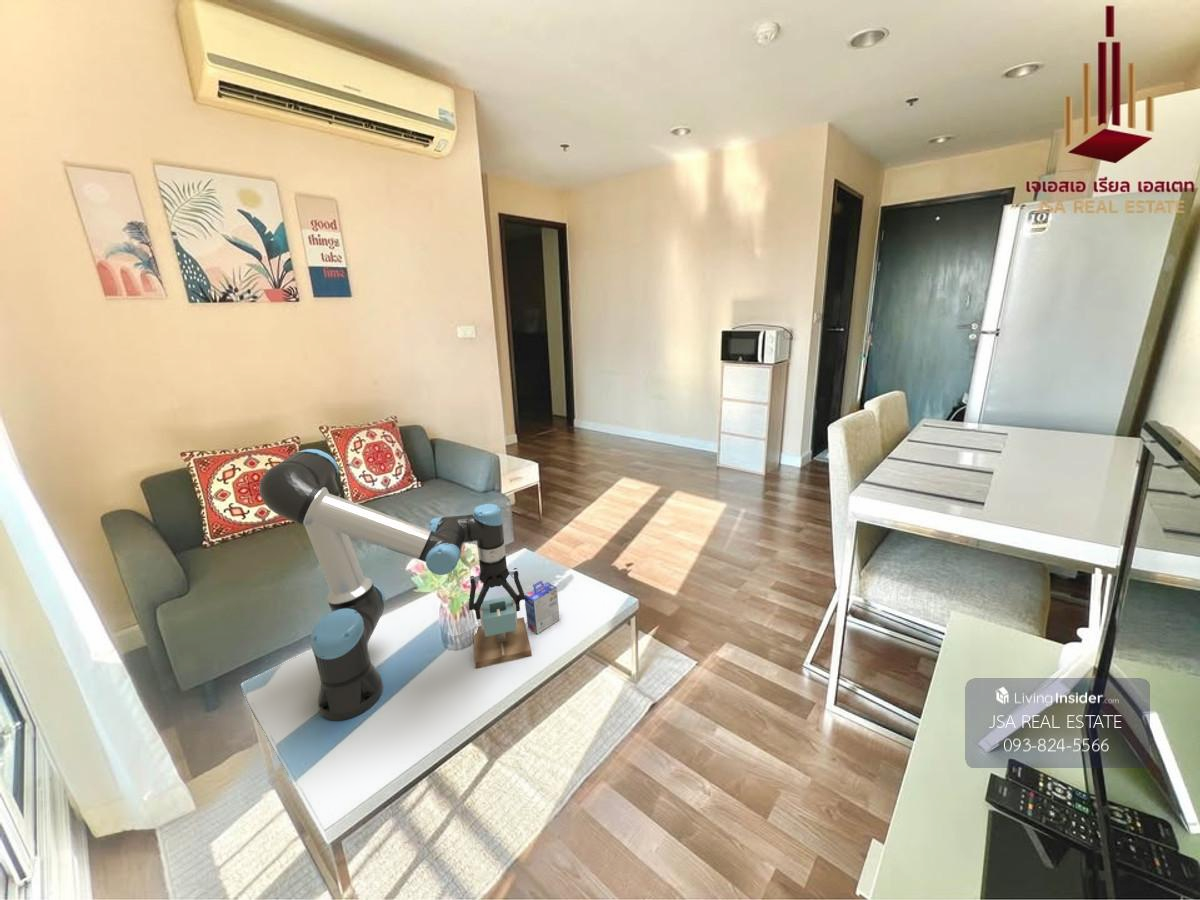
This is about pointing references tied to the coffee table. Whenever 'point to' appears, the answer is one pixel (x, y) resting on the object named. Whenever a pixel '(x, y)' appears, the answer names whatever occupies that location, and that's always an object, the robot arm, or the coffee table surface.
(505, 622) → the gray-green box with recess
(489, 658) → the brown wooden base
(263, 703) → the coffee table surface
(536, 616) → the ink cartridge box
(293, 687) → the coffee table surface
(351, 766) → the coffee table surface
